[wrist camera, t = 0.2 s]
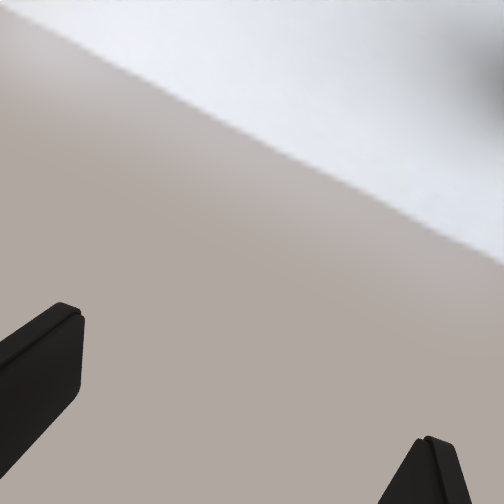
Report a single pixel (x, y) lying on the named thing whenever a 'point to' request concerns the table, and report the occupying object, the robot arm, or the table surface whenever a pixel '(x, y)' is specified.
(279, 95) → the table surface
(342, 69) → the table surface
